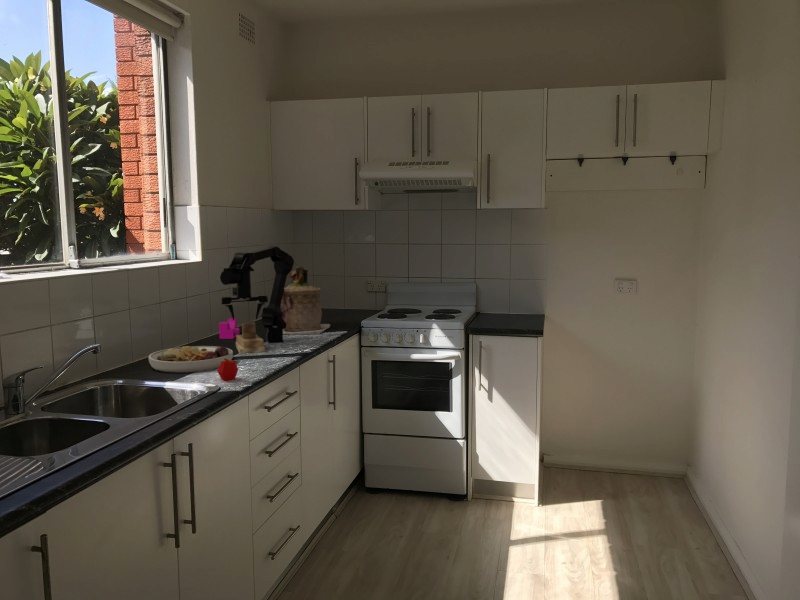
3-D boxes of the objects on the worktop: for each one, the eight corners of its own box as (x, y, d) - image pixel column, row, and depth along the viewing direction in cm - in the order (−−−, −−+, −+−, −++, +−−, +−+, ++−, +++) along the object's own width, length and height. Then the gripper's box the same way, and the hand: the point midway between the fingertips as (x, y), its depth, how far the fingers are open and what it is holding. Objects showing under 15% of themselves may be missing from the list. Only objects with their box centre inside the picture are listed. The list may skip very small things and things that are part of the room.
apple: (213, 383, 223) (212, 360, 222) (222, 379, 230) (222, 356, 229) (233, 384, 222) (232, 361, 221) (241, 379, 229) (241, 356, 228)
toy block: (233, 339, 307) (232, 323, 306) (219, 339, 307) (219, 323, 307) (242, 333, 322) (241, 318, 321) (229, 333, 322) (228, 318, 321)
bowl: (133, 374, 239) (132, 352, 238) (172, 357, 268) (171, 338, 267) (213, 376, 235) (212, 354, 234) (245, 359, 264) (244, 339, 263)
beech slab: (259, 347, 291) (259, 340, 290) (265, 354, 274) (265, 347, 273) (235, 348, 287) (235, 341, 287) (240, 356, 271) (239, 349, 270)
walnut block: (254, 336, 283) (254, 322, 282) (255, 338, 278) (255, 323, 277) (242, 337, 281) (241, 322, 280) (243, 339, 276) (242, 324, 276)
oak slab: (255, 340, 289) (255, 333, 289) (263, 347, 275) (263, 339, 274) (236, 342, 286) (236, 335, 285) (244, 348, 271) (243, 341, 271)
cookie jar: (331, 327, 339) (330, 263, 335) (320, 335, 315) (319, 267, 311) (283, 326, 342) (282, 263, 338) (269, 335, 318) (267, 267, 314)
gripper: (264, 280, 290) (265, 316, 292) (219, 281, 284) (220, 318, 286) (267, 282, 280) (268, 319, 282) (221, 284, 274) (222, 322, 276)
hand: (245, 319), depth 282 cm, fingers open, 9 cm apart
